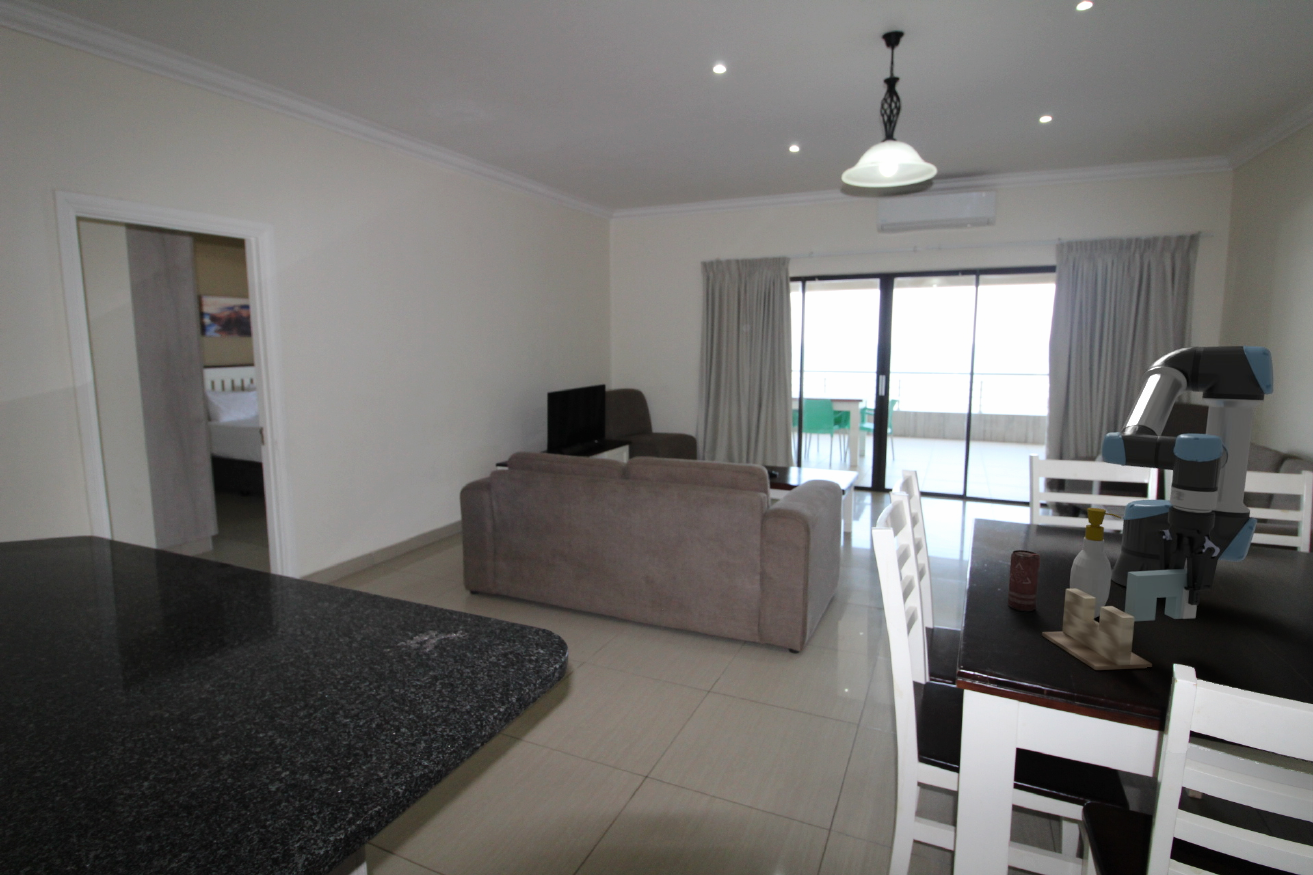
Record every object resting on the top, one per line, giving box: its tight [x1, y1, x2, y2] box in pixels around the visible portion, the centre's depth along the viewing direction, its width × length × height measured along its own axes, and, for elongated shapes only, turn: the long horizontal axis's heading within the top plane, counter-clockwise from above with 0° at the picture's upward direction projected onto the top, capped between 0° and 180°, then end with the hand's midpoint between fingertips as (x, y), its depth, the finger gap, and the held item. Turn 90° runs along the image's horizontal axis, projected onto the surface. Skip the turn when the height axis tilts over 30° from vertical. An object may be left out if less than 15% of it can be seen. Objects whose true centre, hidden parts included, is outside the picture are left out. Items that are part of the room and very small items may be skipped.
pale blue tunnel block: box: [1124, 568, 1198, 622], centre depth 137 cm, size 14×2×10 cm, turn 94°
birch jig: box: [1041, 588, 1153, 671], centre depth 136 cm, size 16×12×11 cm
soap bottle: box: [1069, 507, 1122, 619], centre depth 155 cm, size 14×9×26 cm, turn 140°
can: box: [1007, 549, 1041, 612], centre depth 160 cm, size 6×6×14 cm
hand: (1181, 614), depth 138 cm, fingers closed on pale blue tunnel block, 2 cm apart
